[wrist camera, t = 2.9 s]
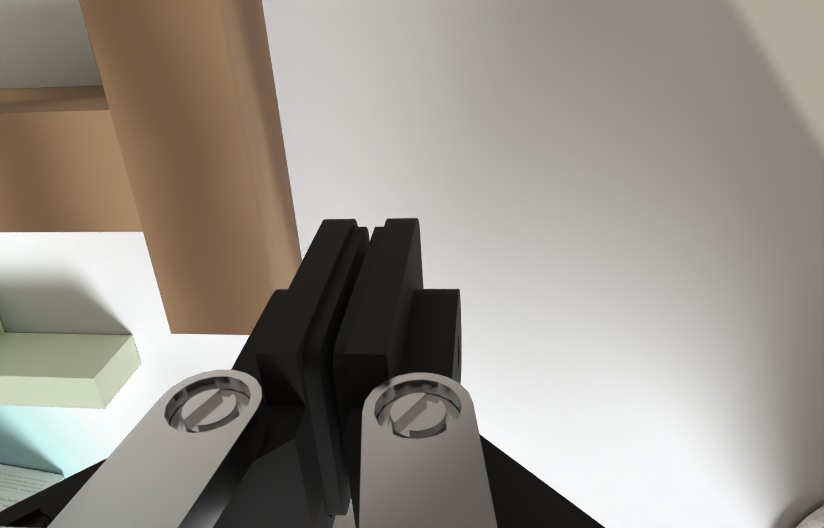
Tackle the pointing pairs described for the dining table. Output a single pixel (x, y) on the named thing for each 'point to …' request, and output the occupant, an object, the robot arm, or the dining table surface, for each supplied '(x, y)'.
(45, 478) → the supplement box
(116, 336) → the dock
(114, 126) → the tee
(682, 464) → the dining table surface
